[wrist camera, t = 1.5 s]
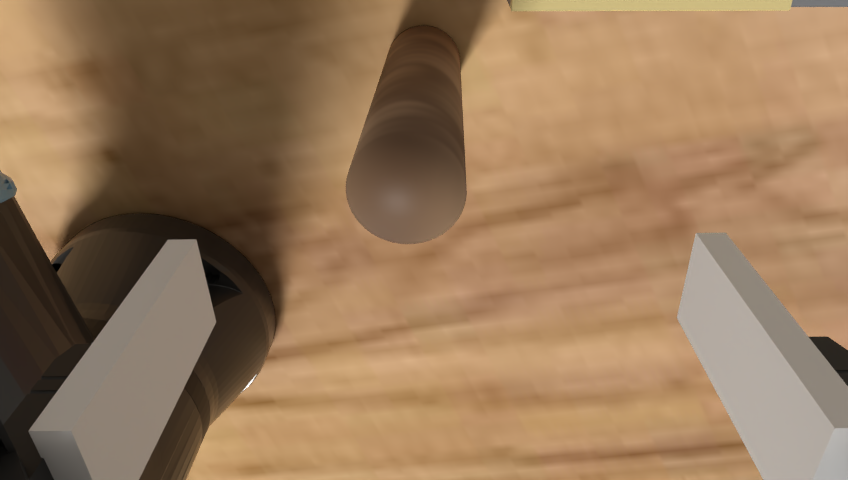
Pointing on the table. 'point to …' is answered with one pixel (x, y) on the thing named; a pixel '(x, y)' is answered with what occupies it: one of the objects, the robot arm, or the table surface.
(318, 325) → the table surface
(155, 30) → the table surface
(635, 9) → the breaker box
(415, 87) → the rounded rod
